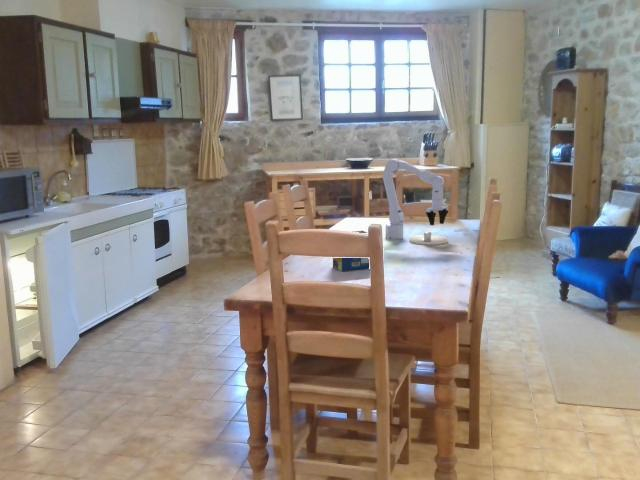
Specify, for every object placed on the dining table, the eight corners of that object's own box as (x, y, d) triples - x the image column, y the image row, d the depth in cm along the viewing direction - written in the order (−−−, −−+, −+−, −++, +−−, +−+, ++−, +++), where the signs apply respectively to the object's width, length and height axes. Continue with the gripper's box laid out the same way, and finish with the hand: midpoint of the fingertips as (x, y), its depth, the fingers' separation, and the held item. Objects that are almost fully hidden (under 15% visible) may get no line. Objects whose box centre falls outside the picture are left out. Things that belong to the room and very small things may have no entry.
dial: (410, 237, 334) (411, 226, 333) (447, 238, 329) (448, 227, 328) (407, 244, 315) (407, 232, 313) (447, 245, 310) (447, 233, 309)
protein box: (332, 266, 273) (332, 233, 270) (363, 263, 278) (363, 230, 275) (341, 272, 263) (341, 236, 260) (373, 268, 268) (373, 234, 266)
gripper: (433, 200, 313) (433, 226, 316) (452, 198, 322) (451, 223, 324) (423, 199, 319) (423, 225, 321) (442, 197, 327) (441, 222, 330)
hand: (436, 224), depth 323 cm, fingers open, 7 cm apart
